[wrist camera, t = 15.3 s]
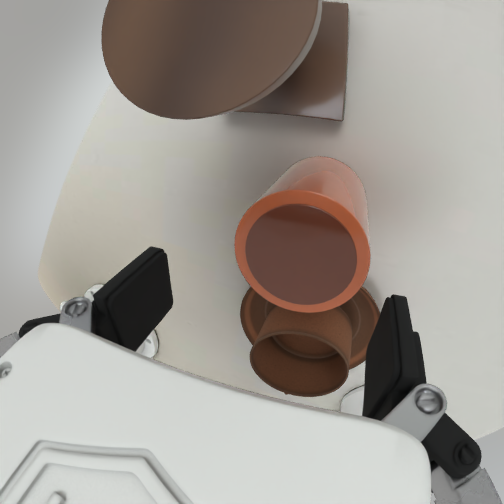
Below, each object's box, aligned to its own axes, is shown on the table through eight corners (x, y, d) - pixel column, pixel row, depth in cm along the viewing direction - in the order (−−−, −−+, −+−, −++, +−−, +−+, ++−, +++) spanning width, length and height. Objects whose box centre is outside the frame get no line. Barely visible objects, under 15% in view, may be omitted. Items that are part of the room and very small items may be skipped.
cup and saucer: (376, 361, 25) (373, 414, 20) (261, 355, 30) (240, 401, 24) (384, 252, 20) (389, 304, 15) (234, 256, 24) (199, 300, 19)
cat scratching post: (226, 110, 19) (95, 136, 9) (229, 8, 15) (105, -48, 5) (343, 120, 17) (327, 144, 7) (348, 8, 13) (329, -98, 3)
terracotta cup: (274, 234, 22) (233, 298, 16) (279, 150, 19) (233, 181, 12) (357, 250, 21) (352, 325, 14) (373, 165, 17) (384, 205, 11)
